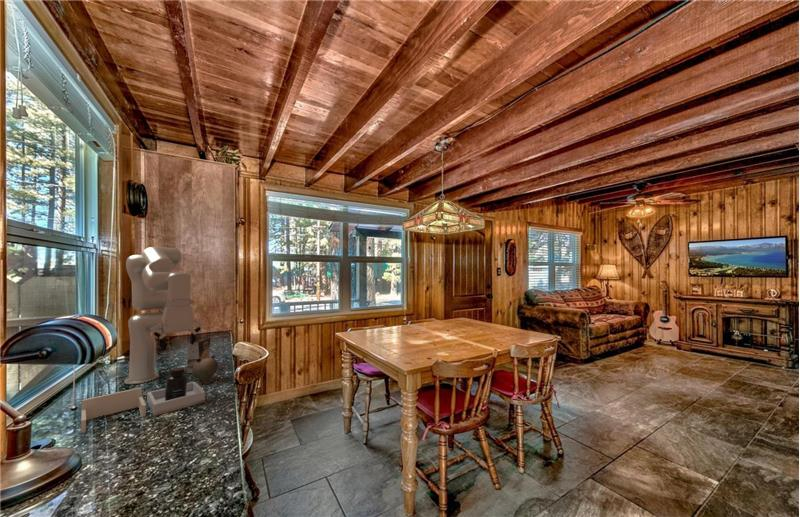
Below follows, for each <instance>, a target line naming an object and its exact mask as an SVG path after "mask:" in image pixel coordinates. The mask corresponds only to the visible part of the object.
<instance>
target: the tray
mask: <svg viewBox="0 0 800 517" xmlns="http://www.w3.org/2000/svg"><path fill="white" fill-rule="evenodd" d="M196 382H197V381H192V382H187V389H186V396H183V397H179V398H175V399H171V400H167V401H165V390H166V387H165V388H162V389H161V388H160V389H157V390H152V391H148V392H147V396H146V398H147V399H146V403H147V405H149V406H148V408H149V409H150V411H151V414H152V416H153V417H155V415H156V416H159V415H162V413H163V414H166V412H167V413H170V412H174V411H178V410H180V409H184V408H188V407H192V406H195V405H199V404H202V403H206V391H205V390H204V389H203V388H202V387H201V385H198V384H197V383H196ZM158 414H159V415H158Z"/></svg>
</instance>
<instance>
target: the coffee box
mask: <svg viewBox="0 0 800 517" xmlns="http://www.w3.org/2000/svg"><path fill="white" fill-rule="evenodd" d="M187 343H188V345H187V364H186V365H187V368H186V369H187V370H186V372H187V373H192V368H193V366H194V364H195V363H196V362H197V359H202V358H210V357H211V355H210V354H211V353H210V352H211V338H210V337H205V338H203V337H202V338H195V342H194V345H191V344H190V341H188V342H187ZM187 373H186V374H187Z"/></svg>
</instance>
